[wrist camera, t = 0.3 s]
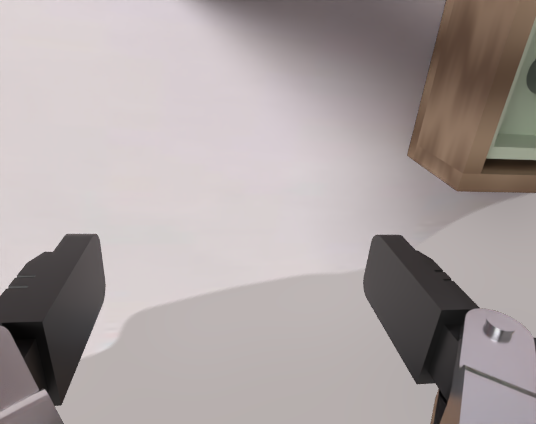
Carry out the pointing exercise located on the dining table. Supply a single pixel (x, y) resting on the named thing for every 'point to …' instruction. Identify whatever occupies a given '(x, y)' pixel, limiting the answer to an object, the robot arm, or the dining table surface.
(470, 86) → the bay
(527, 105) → the box
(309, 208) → the dining table surface
